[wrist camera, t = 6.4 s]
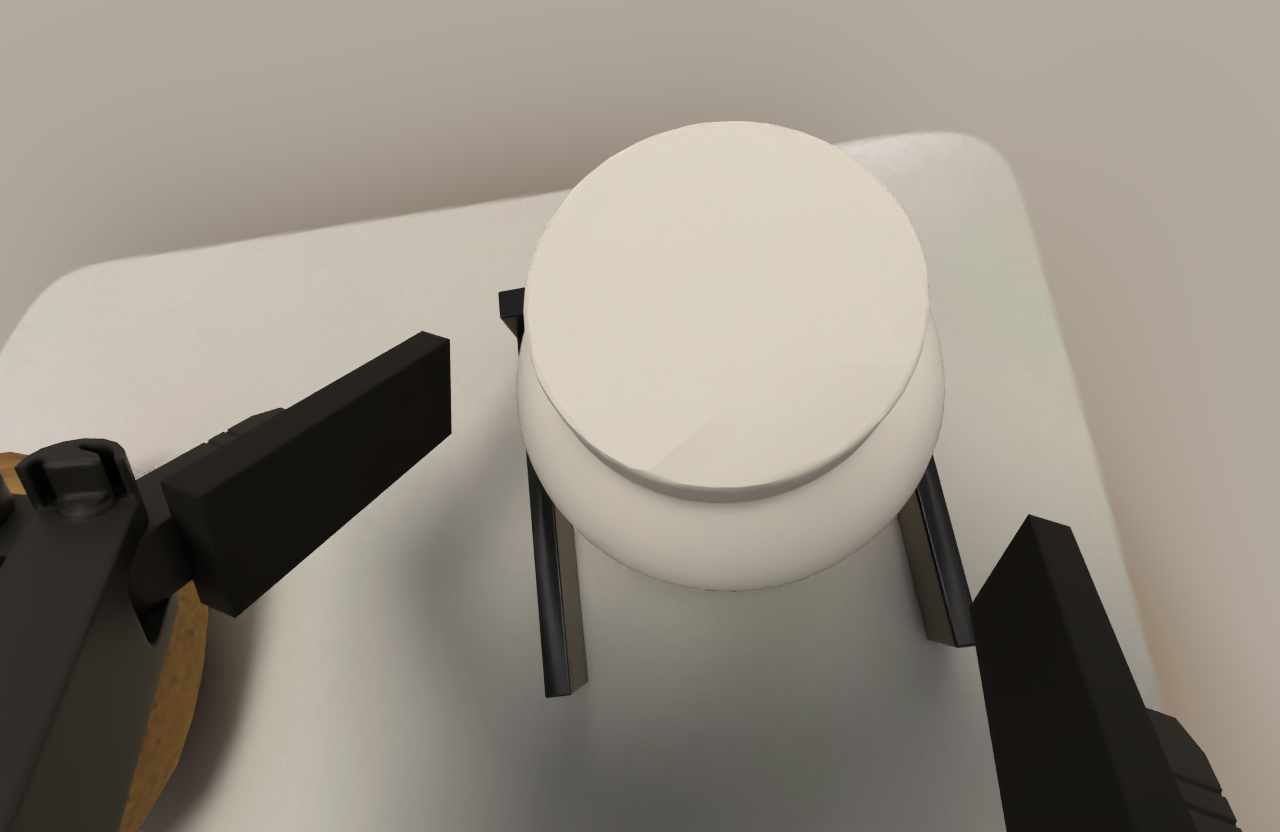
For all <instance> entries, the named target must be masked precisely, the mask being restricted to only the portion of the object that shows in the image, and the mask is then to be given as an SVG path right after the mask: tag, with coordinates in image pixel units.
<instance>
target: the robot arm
mask: <svg viewBox="0 0 1280 832" xmlns="http://www.w3.org/2000/svg"><path fill="white" fill-rule="evenodd" d="M451 433H452V432H451V379H450V339H447V338H444V337H440V336H437V335H434V334H430V333H427V332H424V331H421V332H420V333H418V334H416V335H414V336H413V337H411V338H409V339H408V340H406V341H404V342H402V343H401V344H399V345H397V346H395V347H394V348H392V349H390V350H388V351H387V352H385V353H383V354H381V355H380V356H378V357H376V358H374V359H373V360H371V361H369V362H368V363H366V364H364V365H362V366H361V367H359V368H357V369H355V370H354V371H352V372H350V373H348V374H347V375H345V376H343V377H341V378H340V379H338V380H336V381H334V382H333V383H331V384H329V385H328V386H326V387H324V388H322V389H321V390H319V391H317V392H315V393H314V394H312V395H310V396H308V397H307V398H305V399H303V400H301V401H300V402H298V403H296V404H294V405H293V406H291V407H289V408H287V409H283V408H277V409H274V410H271V411H267V412H264V413H261V414H257V415H254V416H251V417H249V418H247V419H246V420H244V421H242V422H240V423H238V424H237V425H235V426H233V427H231V428H229V429H228V431H227V432H226V433H225V432H222V433H220V434H219V435H217V436H215V437H213V438H211V439H210V440H209V442H208V443H207V444H206V443H202V444H201V445H199V446H197V447H195V448H193V449H191V450H190V451H188V452H186V453H184V454H182V455H181V456H179V457H177V458H175V459H173V460H172V461H170V462H168V463H166V464H164V465H163V466H161V467H159V468H157V469H155V470H154V471H152V472H150V473H148V474H146V475H145V476H143V477H141V478H139V479H137V480H135V477H134V475H133V472H132V469H131V466H130V464H129V461H128V458H127V456H126V453H125V450H124V449H123V448H122V447H121V446H120V445H119V444H118V443H117V442H113V441H109V440H106V439H89V438H84V439H77V440H71V441H64V442H61V443H57V444H54V445H51V446H48V447H45V448H42V449H40V450H38V451H36V452H34V453H32V454H30V455H29V456H27V457H25V458H24V459H23V460H22V461H21V462H19V463H18V464H17V465H16V466H15V467H14V469H15V471H16V473H17V475H18V477H19V479H20V481H21V484H22V486H23V488H24V490H25V492H26V494H27V495H24V494H14V493H11V492H10V490H9V488H8V486H7V484H6V482H5V480H4V478H3V476H2V474H0V832H119V830H120V826H121V823H122V819H123V815H124V811H125V808H126V804H127V800H128V796H129V793H130V789H131V785H132V781H133V778H134V774H135V770H136V766H137V762H138V759H139V755H140V751H141V747H142V744H143V740H144V736H145V732H146V729H147V725H148V721H149V717H150V713H151V710H152V706H153V702H154V698H155V695H156V691H157V687H158V683H159V680H160V676H161V672H162V668H163V665H164V661H165V657H166V653H167V649H168V646H169V642H170V638H171V634H172V631H173V627H174V623H175V619H176V616H177V612H178V608H179V602H178V595H177V591H178V590H179V589H181V588H182V587H183V586H185V585H186V584H187V583H189V582H190V581H191V580H193V582H194V585H195V588H196V591H197V594H198V596H199V599H200V602H201V603H202V604H204V605H207V606H209V607H211V608H214V609H216V610H218V611H220V612H223V613H225V614H227V615H229V616H232V617H234V618H236V617H237V616H238V615H240V614H241V613H242V612H243V611H244V610H245V609H247V608H248V607H249V606H250V605H251V604H252V603H254V602H255V601H256V600H257V599H258V598H259V597H261V596H262V595H263V594H264V593H265V592H266V591H268V590H269V589H270V588H271V587H272V586H273V585H275V584H276V583H277V582H278V581H279V580H281V579H282V578H283V577H284V576H285V575H286V574H288V573H289V572H290V571H291V570H292V569H293V568H295V567H296V566H297V565H298V564H299V563H300V562H302V561H303V560H304V559H305V558H306V557H307V556H309V555H310V554H311V553H312V552H313V551H314V550H316V549H317V548H318V547H319V546H320V545H321V544H323V543H324V542H325V541H326V540H327V539H329V538H330V537H331V536H332V535H333V534H334V533H336V532H337V531H338V530H339V529H340V528H341V527H343V526H344V525H345V524H346V523H347V522H348V521H350V520H351V519H352V518H353V517H354V516H355V515H357V514H358V513H359V512H360V511H361V510H362V509H364V508H365V507H366V506H367V505H368V504H369V503H371V502H372V501H373V500H374V499H375V498H377V497H378V496H379V495H380V494H381V493H382V492H384V491H385V490H386V489H387V488H388V487H389V486H391V485H392V484H393V483H394V482H395V481H396V480H398V479H399V478H400V477H401V476H402V475H403V474H405V473H406V472H407V471H408V470H409V469H410V468H412V467H413V466H414V465H415V464H416V463H418V462H419V461H420V460H421V459H422V458H423V457H425V456H426V455H427V454H428V453H429V452H430V451H432V450H433V449H434V448H435V447H436V446H437V445H439V444H440V443H441V442H442V441H443V440H444V439H446V438H447V437H448V436H449V435H450V434H451ZM969 610H970V616H971V622H972V628H973V634H974V640H975V646H976V652H977V658H978V664H979V670H980V676H981V681H982V687H983V693H984V699H985V705H986V711H987V717H988V723H989V729H990V735H991V741H992V747H993V753H994V759H995V765H996V771H997V777H998V783H999V789H1000V795H1001V801H1002V807H1003V813H1004V819H1005V825H1006V831H1007V832H1242V831H1241V829H1240V828H1237V827H1236V822H1237V820H1236V818H1235V816H1234V814H1233V812H1232V810H1231V807H1230V805H1229V803H1228V801H1227V799H1226V798H1225V797H1222V795H1221V792H1222V789H1221V786H1220V784H1219V782H1218V780H1217V778H1216V776H1215V774H1214V772H1213V770H1212V768H1211V765H1210V764H1209V761H1208V759H1207V757H1206V755H1205V753H1204V752H1203V751H1202V750H1201V749H1200V747H1199V746H1198V745H1197V744H1196V743H1195V741H1194V740H1193V739H1192V738H1191V736H1190V735H1189V734H1188V733H1187V732H1186V730H1185V729H1184V728H1183V727H1182V725H1181V724H1180V723H1179V722H1178V721H1177V719H1176V718H1174V717H1171V716H1168V715H1165V714H1162V713H1160V712H1157V711H1154V710H1151V709H1148V708H1146V707H1145V705H1144V703H1143V700H1142V698H1141V695H1140V693H1139V691H1138V688H1137V686H1136V684H1135V681H1134V679H1133V676H1132V674H1131V672H1130V669H1129V667H1128V664H1127V662H1126V660H1125V657H1124V655H1123V652H1122V650H1121V648H1120V645H1119V643H1118V640H1117V638H1116V636H1115V633H1114V631H1113V628H1112V626H1111V624H1110V621H1109V619H1108V616H1107V614H1106V612H1105V609H1104V607H1103V604H1102V602H1101V600H1100V597H1099V595H1098V592H1097V590H1096V588H1095V585H1094V583H1093V580H1092V578H1091V576H1090V573H1089V571H1088V569H1087V566H1086V564H1085V561H1084V559H1083V557H1082V554H1081V552H1080V549H1079V547H1078V545H1077V542H1076V540H1075V537H1074V535H1073V533H1072V530H1071V528H1070V527H1069V526H1066V525H1062V524H1059V523H1056V522H1052V521H1049V520H1046V519H1042V518H1039V517H1036V516H1033V515H1029V514H1028V516H1027V518H1026V519H1025V521H1024V522H1023V524H1022V525H1021V527H1020V529H1019V530H1018V532H1017V533H1016V535H1015V536H1014V538H1013V540H1012V541H1011V543H1010V544H1009V546H1008V547H1007V549H1006V551H1005V552H1004V554H1003V555H1002V557H1001V558H1000V560H999V562H998V563H997V565H996V566H995V568H994V569H993V571H992V573H991V574H990V576H989V577H988V579H987V581H986V582H985V584H984V585H983V587H982V588H981V590H980V592H979V593H978V595H977V596H976V598H975V599H974V601H973V603H972V604H971V606H970V607H969Z"/></svg>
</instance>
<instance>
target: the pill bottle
mask: <svg viewBox="0 0 1280 832" xmlns="http://www.w3.org/2000/svg"><path fill="white" fill-rule="evenodd" d="M523 313H524V327H525V331H524V335H523V339H522V344H521V348H520V354H519V361H518V374H517V405H518V416H519V422H520V427H521V432H522V437H523V440H524V443H525V446H526V450H527V453H528V455H529V458H530V461H531V463H532V465H533V468H534V470H535V472H536V474H537V476H538V478H539V480H540V481H541V483H542V485H543V487H544V489H545V490H546V492H547V494H548V495H549V497H550V498H551V500H552V501H553V503H554V504H555V505H556V507H557V508H558V509H559V511H560V512H561V513H562V514H563V515H564V516H565V518H566V519H567V520H568V521H569V522H570V523H571V524H572V525H573V526H574V527H575V528H576V529H577V530H578V531H579V532H580V533H581V534H582V535H583V536H584V537H585V538H586V539H587V540H588V541H589V542H590V543H592V544H593V545H595V546H596V547H597V548H599V549H600V550H602V551H603V552H604V553H606V554H607V555H609V556H610V557H612V558H613V559H615V560H616V561H618V562H620V563H622V564H624V565H626V566H628V567H629V568H631V569H634V570H636V571H638V572H640V573H643V574H645V575H647V576H650V577H653V578H656V579H659V580H662V581H665V582H668V583H672V584H677V585H681V586H685V587H690V588H697V589H704V590H711V591H744V590H755V589H763V588H769V587H775V586H779V585H783V584H787V583H791V582H795V581H799V580H802V579H805V578H807V577H809V576H811V575H814V574H816V573H819V572H821V571H823V570H825V569H827V568H829V567H831V566H833V565H835V564H837V563H839V562H840V561H842V560H844V559H845V558H847V557H849V556H850V555H852V554H853V553H855V552H857V551H858V550H859V549H860V548H862V547H863V546H864V545H865V544H867V543H868V542H869V541H870V540H872V539H873V538H874V537H876V536H877V535H878V534H879V533H880V532H881V531H882V530H883V529H884V528H885V527H886V526H887V525H888V524H889V523H890V522H891V521H892V520H893V518H894V517H895V516H896V515H897V514H898V513H899V511H900V510H901V509H902V507H903V506H904V505H905V503H906V502H907V501H908V499H909V498H910V497H911V495H912V494H913V492H914V491H915V489H916V487H917V485H918V484H919V482H920V480H921V479H922V477H923V475H924V472H925V470H926V468H927V466H928V463H929V461H930V459H931V457H932V454H933V451H934V448H935V445H936V442H937V439H938V435H939V432H940V428H941V423H942V417H943V410H944V396H945V390H944V368H943V362H942V355H941V348H940V344H939V339H938V334H937V330H936V326H935V322H934V319H933V317H932V314H931V311H930V309H929V282H928V275H927V269H926V265H925V261H924V257H923V253H922V250H921V246H920V243H919V241H918V238H917V236H916V234H915V232H914V229H913V227H912V225H911V223H910V221H909V219H908V217H907V216H906V214H905V213H904V211H903V209H902V208H901V206H900V205H899V203H898V201H897V200H896V199H895V198H894V196H893V195H892V194H891V192H890V191H889V190H888V189H887V187H886V186H885V185H884V184H882V183H881V182H880V181H879V180H878V179H877V178H876V177H875V176H874V175H873V174H872V173H871V172H870V171H869V170H868V169H867V168H866V167H864V166H863V165H862V164H860V163H859V162H858V161H856V160H855V159H854V158H852V157H851V156H850V155H848V154H847V153H845V152H844V151H842V150H840V149H838V148H836V147H834V146H832V145H831V144H828V143H827V142H825V141H823V140H821V139H818V138H815V137H813V136H811V135H808V134H806V133H803V132H800V131H796V130H792V129H788V128H785V127H781V126H777V125H772V124H764V123H756V122H746V121H725V122H708V123H701V124H694V125H689V126H685V127H681V128H678V129H674V130H670V131H667V132H663V133H659V134H656V135H654V136H652V137H649V138H647V139H645V140H642V141H640V142H638V143H636V144H634V145H632V146H630V147H628V148H626V149H625V150H623V151H621V152H619V153H618V154H616V155H614V156H612V157H610V158H609V159H607V160H606V161H605V162H604V163H602V164H601V165H600V166H598V167H597V168H596V169H595V170H593V171H592V172H591V173H589V174H588V175H587V176H586V177H585V178H584V179H583V180H582V181H581V182H580V183H579V184H578V185H577V186H576V187H575V188H574V189H573V190H572V191H571V192H570V193H569V194H568V196H567V197H566V198H565V199H564V201H563V202H562V203H561V205H560V206H559V207H558V209H557V210H556V212H555V213H554V215H553V216H552V218H551V219H550V221H549V222H548V224H547V226H546V227H545V229H544V231H543V233H542V236H541V238H540V240H539V242H538V244H537V246H536V249H535V252H534V255H533V258H532V261H531V265H530V268H529V272H528V277H527V282H526V287H525V296H524V309H523Z"/></svg>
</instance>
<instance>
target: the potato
mask: <svg viewBox="0 0 1280 832" xmlns="http://www.w3.org/2000/svg"><path fill="white" fill-rule="evenodd" d="M27 456H29V455H24V454H19V453H13V452H6V453H0V474H2V476H3V478H4V480H5V482H6V484H7V486H8V488H9V490H10V492H11V493H14V494H24V495H27V494H26V492H25V490H24V488H23V486H22V484H21V481H20V479H19V477H18V475H17V473H16V471H15V469H14V467H15V466H16V465H17V464H18V463H19V462H21V461H22V460H23V459H24V458H25V457H27ZM177 595H178V602H179V608H178V612H177V616H176V619H175V623H174V627H173V631H172V634H171V638H170V642H169V646H168V649H167V653H166V657H165V661H164V665H163V668H162V672H161V676H160V680H159V683H158V687H157V691H156V695H155V698H154V702H153V706H152V710H151V713H150V717H149V721H148V725H147V729H146V732H145V736H144V740H143V744H142V747H141V751H140V755H139V759H138V762H137V766H136V770H135V774H134V778H133V781H132V785H131V789H130V793H129V796H128V800H127V804H126V808H125V811H124V815H123V819H122V823H121V826H120V830H119V832H138V831H139V829H140V828H141V826H142V824H143V823H144V821H145V819H146V818H147V816H148V814H149V813H150V811H151V809H152V807H153V806H154V804H155V802H156V801H157V799H158V797H159V796H160V794H161V792H162V790H163V789H164V787H165V785H166V784H167V782H168V780H169V779H170V777H171V775H172V774H173V772H174V770H175V768H176V767H177V765H178V763H179V760H180V757H181V754H182V750H183V747H184V744H185V741H186V738H187V735H188V731H189V728H190V725H191V722H192V719H193V716H194V711H195V706H196V701H197V696H198V692H199V687H200V682H201V677H202V672H203V668H204V658H205V647H206V636H207V625H208V609H209V607H208V606H207V605H204V604H202V603H201V602H200V599H199V596H198V594H197V591H196V588H195V585H194V582H193V580H191V581H190V582H189V583H187V584H186V585H185V586H183V587H182V588H181V589H179V590H178V591H177Z"/></svg>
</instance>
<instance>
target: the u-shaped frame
mask: <svg viewBox="0 0 1280 832" xmlns="http://www.w3.org/2000/svg"><path fill="white" fill-rule="evenodd" d="M524 296H525V288H519V289H513V290H508V291H502V292H499V309H500V318H501V319H502V321H503V322H504V323H505V324H506V325H507V327H508V328H509V329H510V330H511V331H512V333H513V334H514V335H515V336H516V338H517V341H518V353H519V354H520V348H521V344H522V339H523V335H524V331H525V327H524V313H523V309H524ZM526 456H527V468H528V481H529V494H530V507H531V519H532V532H533V545H534V558H535V570H536V583H537V596H538V609H539V621H540V634H541V647H542V660H543V672H544V685H545V696H546V698H551V697H559V696H567V695H571V694H572V693H574V692H575V691H576V690H578V689H579V688H580V687H582V686H583V685H585V684H586V683H587V682H588V679H587V669H586V659H585V648H584V638H583V628H582V617H581V607H580V597H579V586H578V576H577V566H576V555H575V545H574V535H573V525H572V524H571V523H570V522H569V521H568V520H567V519H566V518H565V516H564V515H563V514H562V513H561V512H560V511H559V509H558V508H557V507H556V505H555V504H554V503H553V501H552V500H551V498H550V497H549V495H548V494H547V492H546V490H545V489H544V487H543V485H542V483H541V481H540V480H539V478H538V476H537V474H536V472H535V470H534V468H533V465H532V463H531V461H530V458H529V455H528V453H527V450H526ZM898 518H899V522H900V526H901V530H902V534H903V538H904V542H905V546H906V551H907V555H908V559H909V563H910V567H911V571H912V575H913V579H914V583H915V587H916V591H917V596H918V600H919V604H920V608H921V612H922V616H923V620H924V624H925V628H926V632H927V636H928V639H929V640H930V641H933V642H937V643H941V644H945V645H949V646H952V647H956V648H963V647H971V646H975V640H974V634H973V628H972V622H971V616H970V610H969V607H970V606H971V604H972V599H971V595H970V592H969V588H968V584H967V580H966V577H965V573H964V569H963V565H962V562H961V558H960V554H959V550H958V547H957V543H956V539H955V536H954V532H953V528H952V524H951V521H950V517H949V513H948V509H947V506H946V502H945V498H944V494H943V491H942V487H941V483H940V480H939V476H938V472H937V468H936V465H935V461H934V457H933V454H932V457H931V459H930V461H929V463H928V466H927V468H926V470H925V472H924V475H923V477H922V479H921V480H920V482H919V484H918V485H917V487H916V489H915V491H914V492H913V494H912V495H911V497H910V498H909V499H908V501H907V502H906V503H905V505H904V506H903V507H902V509H901V510H900V511H899V513H898Z"/></svg>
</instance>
